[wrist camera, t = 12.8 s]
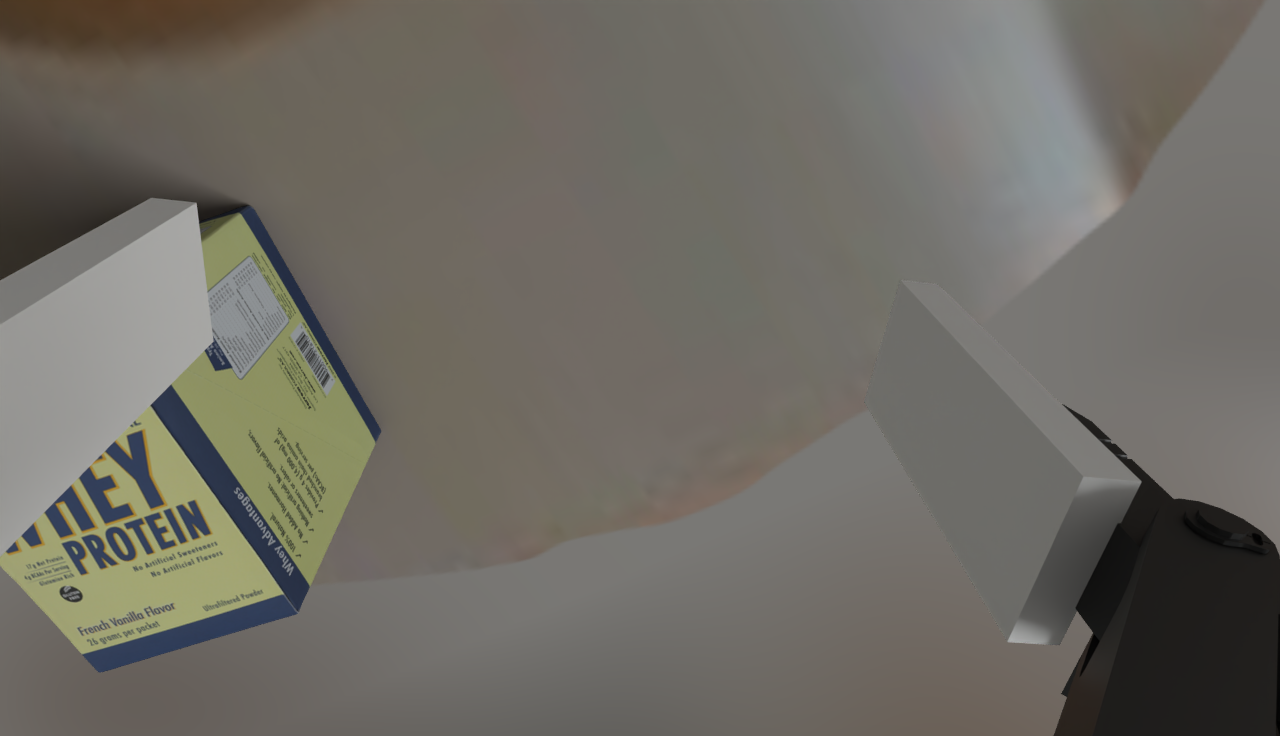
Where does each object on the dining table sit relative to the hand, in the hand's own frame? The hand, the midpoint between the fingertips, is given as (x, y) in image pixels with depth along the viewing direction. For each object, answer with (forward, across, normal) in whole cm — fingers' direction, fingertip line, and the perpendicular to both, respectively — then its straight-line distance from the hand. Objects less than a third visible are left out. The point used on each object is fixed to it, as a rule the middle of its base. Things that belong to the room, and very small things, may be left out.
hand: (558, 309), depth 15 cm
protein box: (+29, -18, -17) cm, 38 cm away
